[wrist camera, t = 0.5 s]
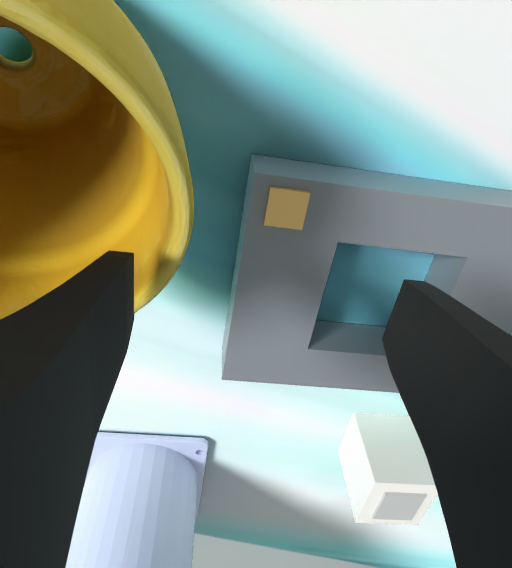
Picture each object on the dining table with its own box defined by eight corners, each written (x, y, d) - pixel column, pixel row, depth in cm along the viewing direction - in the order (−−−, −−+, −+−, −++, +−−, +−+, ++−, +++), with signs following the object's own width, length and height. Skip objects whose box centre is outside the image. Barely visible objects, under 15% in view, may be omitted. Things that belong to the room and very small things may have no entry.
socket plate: (453, 366, 27) (474, 400, 24) (222, 347, 25) (221, 382, 23) (543, 195, 21) (581, 218, 19) (251, 153, 19) (254, 174, 17)
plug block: (392, 454, 31) (419, 528, 27) (337, 451, 31) (356, 526, 26) (411, 415, 29) (444, 488, 25) (353, 411, 28) (376, 485, 24)
